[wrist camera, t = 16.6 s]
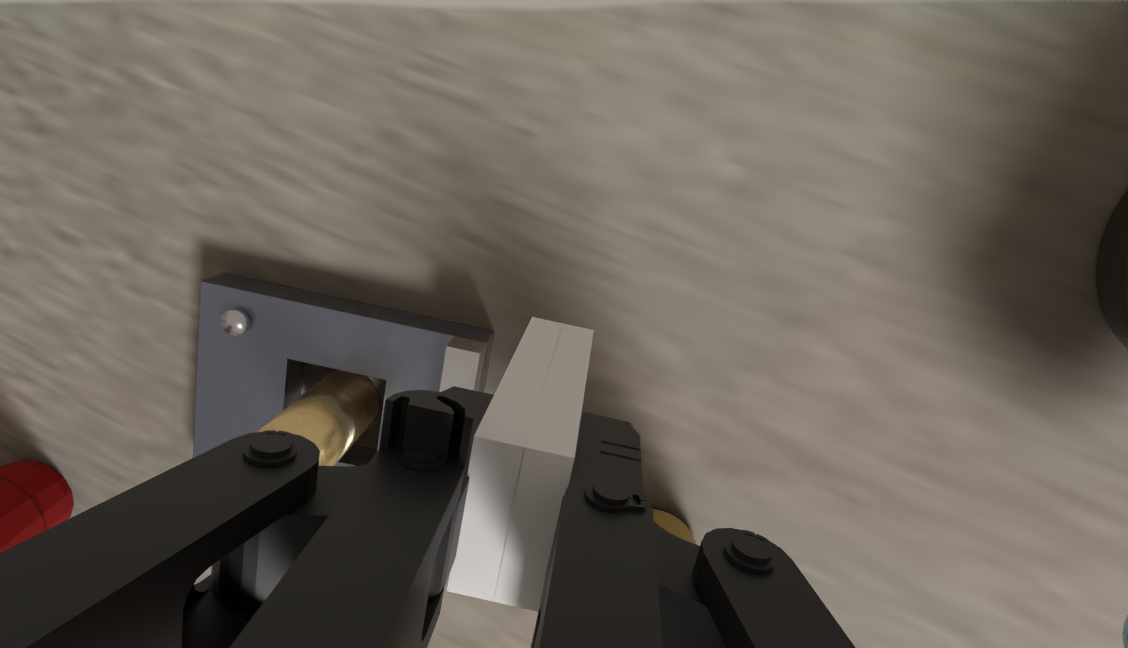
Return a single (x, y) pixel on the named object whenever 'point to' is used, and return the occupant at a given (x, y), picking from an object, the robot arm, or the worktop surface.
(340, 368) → the jig
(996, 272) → the worktop surface
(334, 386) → the brass cylinder
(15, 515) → the plastic cup
